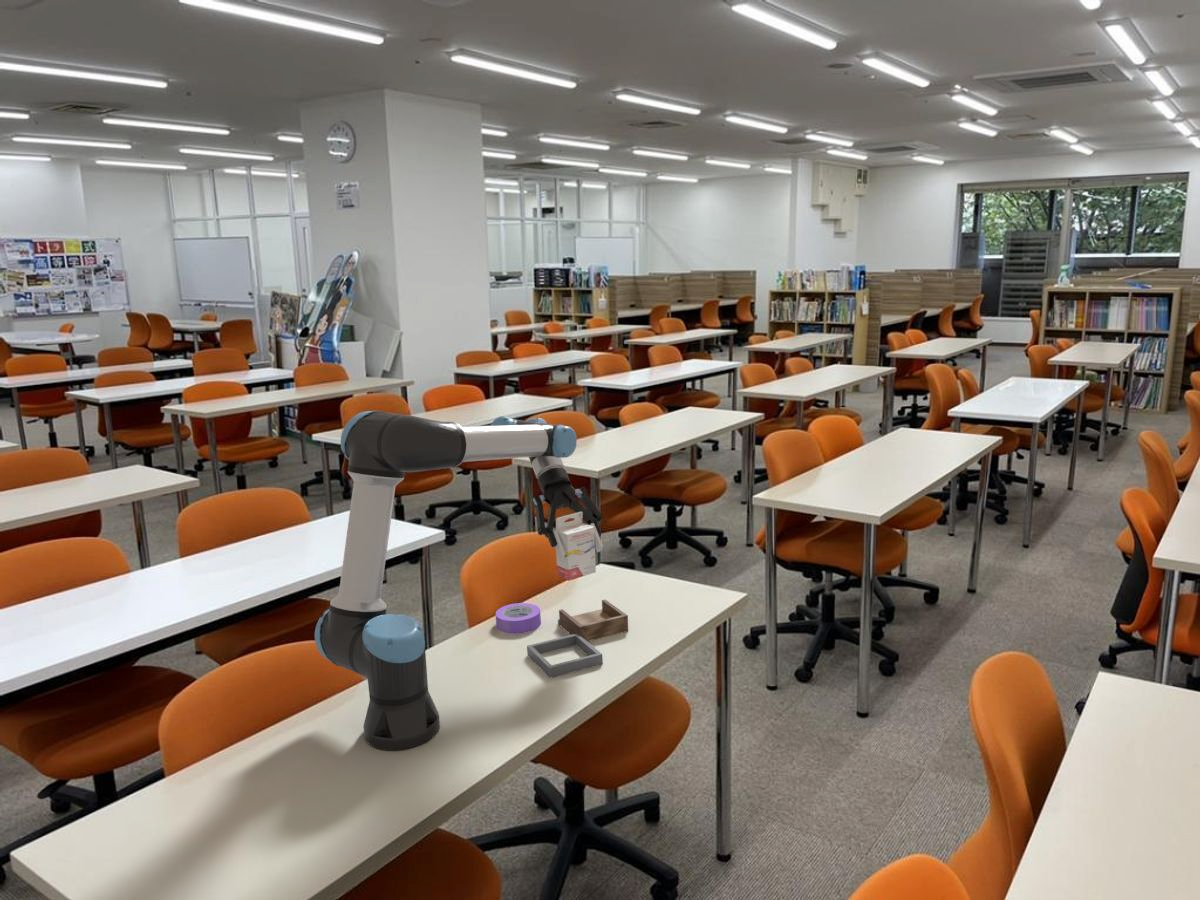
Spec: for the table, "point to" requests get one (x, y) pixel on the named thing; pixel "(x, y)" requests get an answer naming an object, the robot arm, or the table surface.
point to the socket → (568, 666)
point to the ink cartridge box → (575, 547)
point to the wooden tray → (595, 622)
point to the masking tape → (518, 618)
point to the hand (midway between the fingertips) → (581, 553)
